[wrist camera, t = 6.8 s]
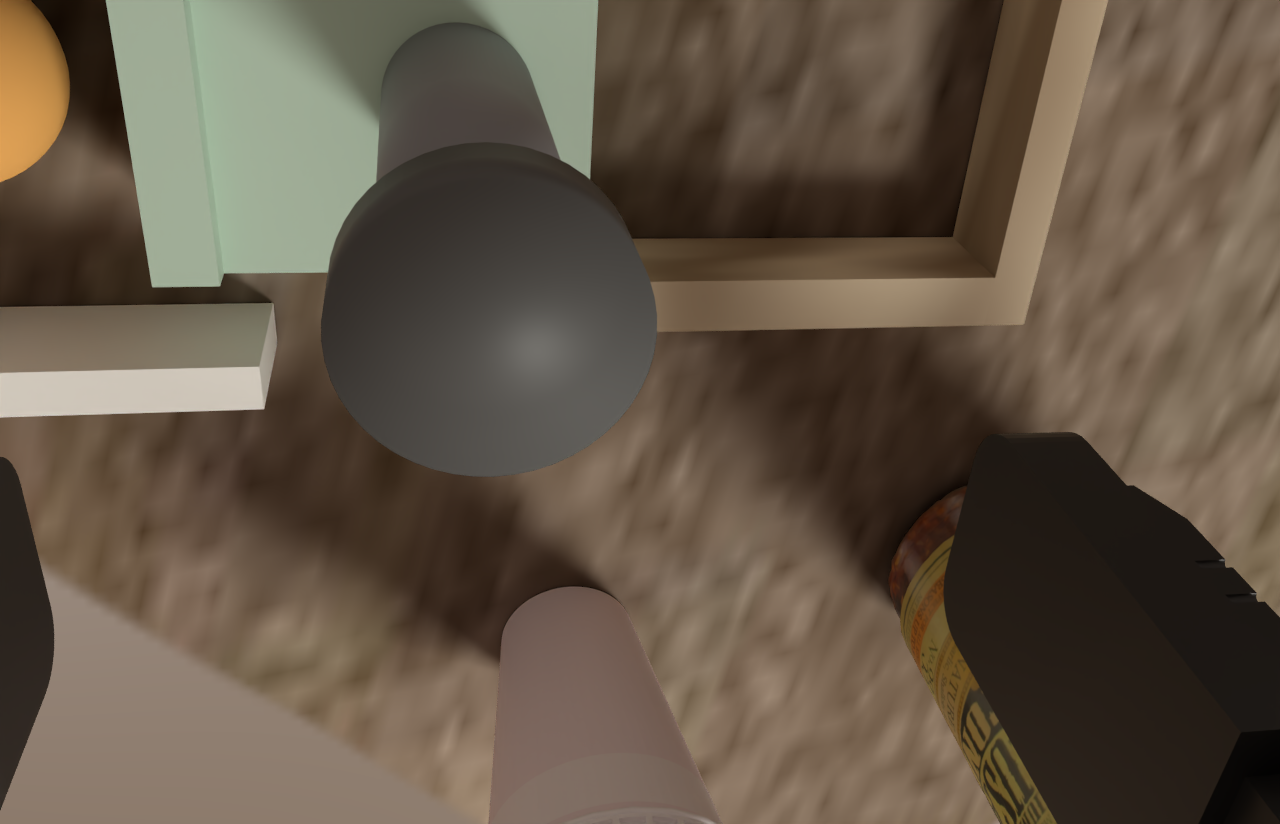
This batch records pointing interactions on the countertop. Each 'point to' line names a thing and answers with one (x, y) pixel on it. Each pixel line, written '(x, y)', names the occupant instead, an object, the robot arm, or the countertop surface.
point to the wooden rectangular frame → (915, 266)
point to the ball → (29, 86)
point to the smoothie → (586, 722)
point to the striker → (402, 205)
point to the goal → (135, 358)
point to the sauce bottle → (957, 666)
